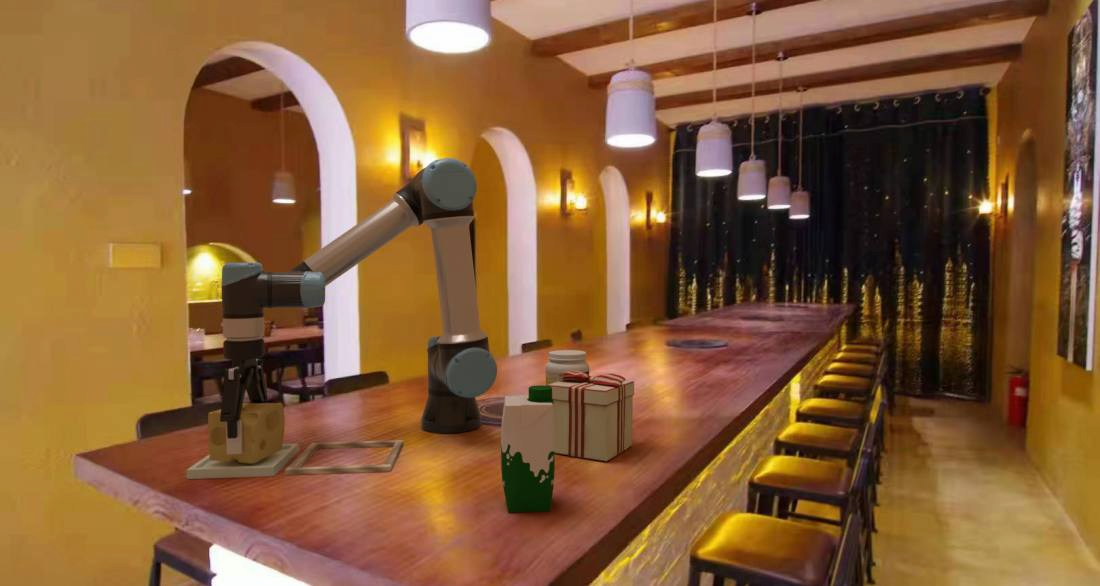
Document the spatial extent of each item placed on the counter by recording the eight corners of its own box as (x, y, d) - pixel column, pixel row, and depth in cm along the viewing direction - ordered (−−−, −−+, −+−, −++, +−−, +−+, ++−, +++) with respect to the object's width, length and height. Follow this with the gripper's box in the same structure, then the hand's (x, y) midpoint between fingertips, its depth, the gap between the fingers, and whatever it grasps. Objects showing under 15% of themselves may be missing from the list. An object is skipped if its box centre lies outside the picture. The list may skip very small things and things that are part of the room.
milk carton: (556, 513, 103) (556, 392, 102) (501, 515, 102) (501, 393, 101) (552, 493, 111) (552, 382, 110) (501, 495, 111) (500, 383, 110)
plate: (298, 451, 137) (298, 443, 137) (273, 476, 121) (273, 467, 121) (222, 454, 135) (222, 445, 135) (186, 479, 119) (186, 469, 119)
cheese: (254, 464, 122) (252, 413, 122) (205, 461, 124) (204, 411, 124) (286, 449, 132) (284, 402, 132) (240, 446, 134) (239, 400, 134)
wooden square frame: (403, 444, 142) (403, 440, 142) (390, 471, 123) (390, 466, 123) (312, 446, 140) (312, 442, 140) (285, 475, 121) (285, 469, 121)
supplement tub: (590, 418, 166) (590, 355, 166) (544, 418, 167) (544, 355, 166) (588, 408, 179) (588, 349, 178) (545, 408, 179) (545, 349, 178)
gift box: (639, 441, 145) (639, 367, 144) (612, 464, 128) (613, 381, 127) (571, 433, 152) (571, 362, 151) (538, 454, 135) (538, 374, 134)
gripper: (246, 332, 138) (249, 430, 139) (197, 346, 115) (200, 463, 116) (282, 332, 139) (284, 429, 140) (240, 345, 115) (243, 462, 116)
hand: (246, 445), depth 128 cm, fingers closed on cheese, 11 cm apart
